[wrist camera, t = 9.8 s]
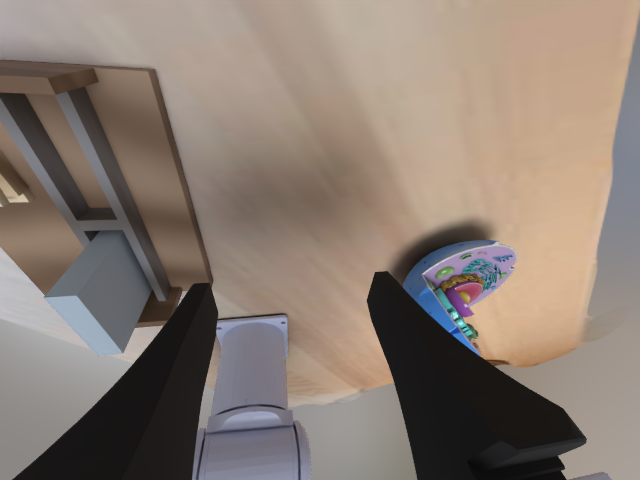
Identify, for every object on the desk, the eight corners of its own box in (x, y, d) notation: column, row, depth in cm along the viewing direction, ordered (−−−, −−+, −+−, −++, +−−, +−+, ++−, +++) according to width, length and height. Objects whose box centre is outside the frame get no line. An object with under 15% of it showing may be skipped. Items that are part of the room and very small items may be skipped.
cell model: (501, 252, 29) (581, 329, 21) (408, 305, 32) (448, 386, 25) (474, 197, 23) (569, 274, 16) (365, 268, 27) (401, 358, 20)
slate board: (156, 281, 22) (123, 353, 17) (136, 282, 22) (97, 355, 17) (128, 224, 18) (76, 295, 13) (105, 224, 18) (43, 297, 13)
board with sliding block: (213, 281, 25) (203, 321, 21) (56, 290, 22) (18, 337, 19) (154, 69, 14) (117, 81, 11) (-150, 50, 12) (-322, 57, 8)
